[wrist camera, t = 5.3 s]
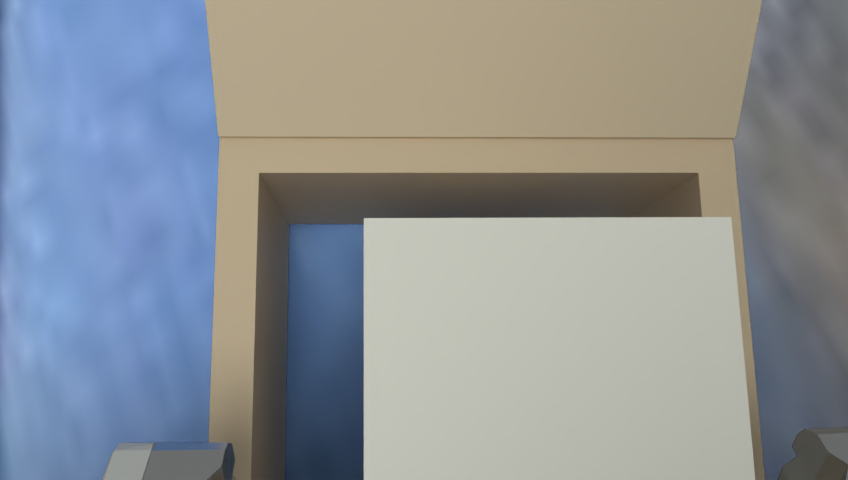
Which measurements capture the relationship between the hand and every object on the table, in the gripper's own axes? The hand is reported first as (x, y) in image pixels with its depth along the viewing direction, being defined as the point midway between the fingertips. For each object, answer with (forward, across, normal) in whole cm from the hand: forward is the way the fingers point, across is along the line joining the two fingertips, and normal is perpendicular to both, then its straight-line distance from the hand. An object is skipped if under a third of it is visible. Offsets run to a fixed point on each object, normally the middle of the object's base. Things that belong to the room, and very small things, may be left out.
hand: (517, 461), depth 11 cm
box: (+7, 0, +6) cm, 9 cm away
